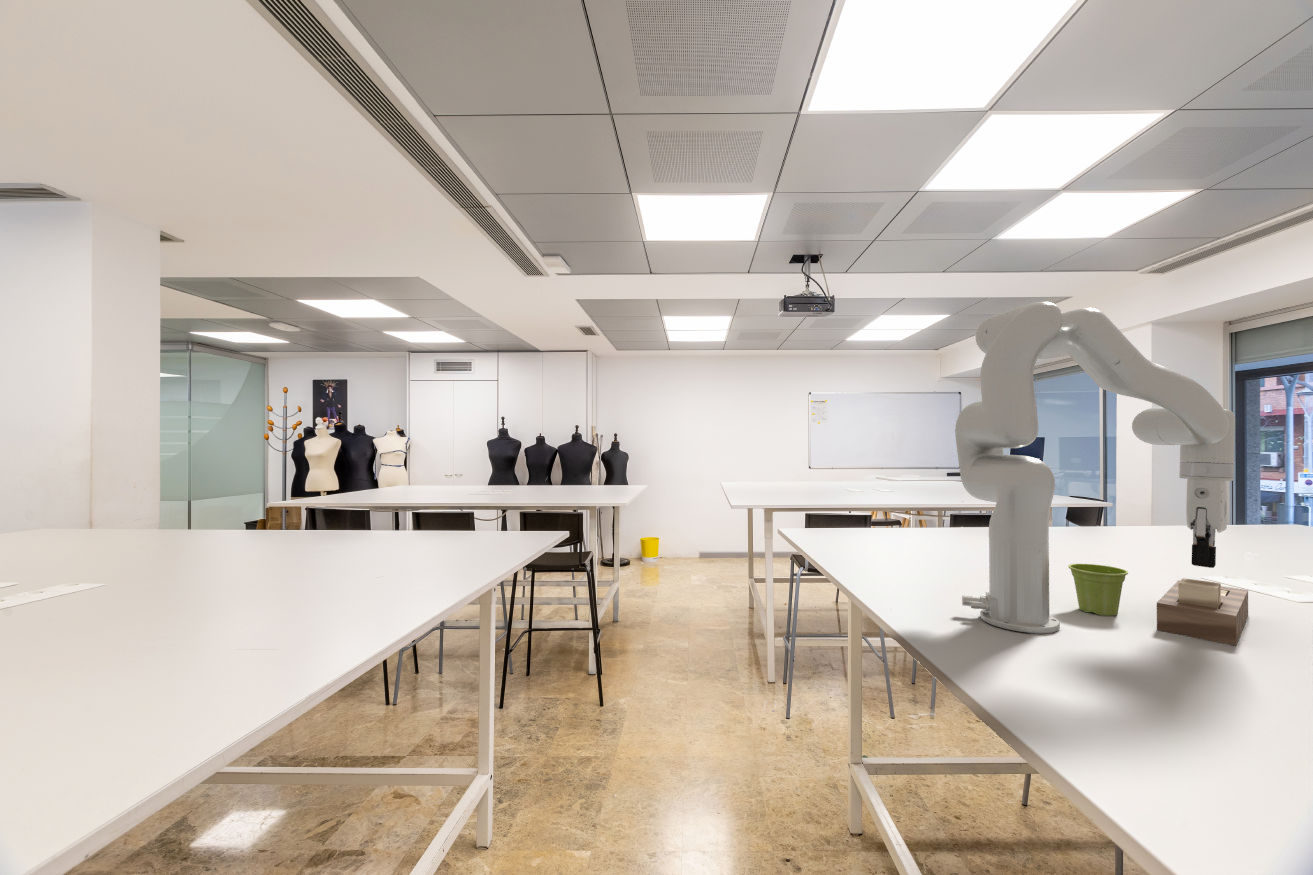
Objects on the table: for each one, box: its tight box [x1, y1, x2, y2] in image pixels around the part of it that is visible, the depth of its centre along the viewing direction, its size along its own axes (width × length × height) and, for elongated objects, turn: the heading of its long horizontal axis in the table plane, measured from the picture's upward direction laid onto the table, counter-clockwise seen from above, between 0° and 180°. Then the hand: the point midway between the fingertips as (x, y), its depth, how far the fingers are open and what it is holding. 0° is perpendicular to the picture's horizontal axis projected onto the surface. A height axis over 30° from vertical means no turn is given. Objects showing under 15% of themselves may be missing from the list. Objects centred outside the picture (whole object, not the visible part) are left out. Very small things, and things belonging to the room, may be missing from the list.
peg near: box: [1178, 577, 1222, 609], centre depth 101 cm, size 5×5×5 cm
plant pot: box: [1068, 563, 1129, 617], centre depth 112 cm, size 9×9×9 cm
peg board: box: [1156, 579, 1249, 646], centre depth 105 cm, size 24×10×5 cm, turn 130°
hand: (1203, 565), depth 109 cm, fingers closed
